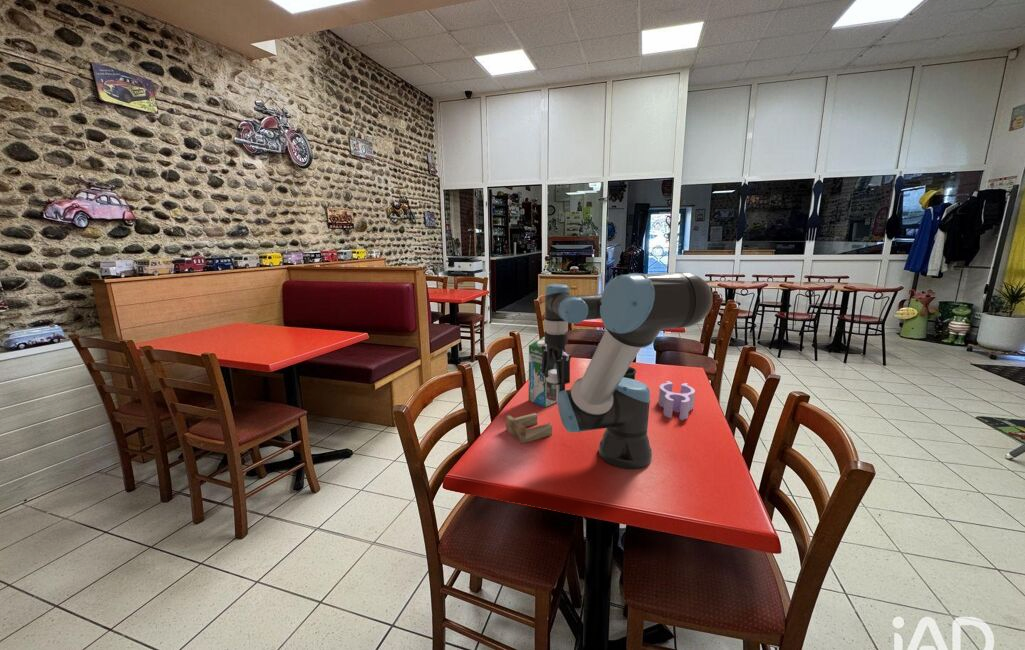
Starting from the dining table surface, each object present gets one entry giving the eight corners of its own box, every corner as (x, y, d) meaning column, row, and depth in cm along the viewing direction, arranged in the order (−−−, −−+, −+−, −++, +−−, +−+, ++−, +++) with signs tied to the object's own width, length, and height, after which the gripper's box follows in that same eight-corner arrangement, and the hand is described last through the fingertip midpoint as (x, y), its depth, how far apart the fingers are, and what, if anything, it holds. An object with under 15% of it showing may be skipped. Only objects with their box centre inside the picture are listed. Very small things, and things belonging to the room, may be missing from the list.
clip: (694, 422, 141) (696, 403, 140) (657, 416, 146) (658, 398, 144) (692, 400, 159) (694, 384, 158) (658, 396, 164) (660, 380, 162)
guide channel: (552, 434, 132) (552, 420, 131) (521, 443, 127) (521, 429, 126) (535, 422, 141) (535, 408, 140) (506, 429, 136) (505, 416, 135)
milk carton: (528, 400, 160) (528, 339, 154) (544, 394, 165) (545, 335, 160) (544, 407, 153) (545, 344, 147) (560, 401, 159) (562, 339, 153)
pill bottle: (545, 395, 140) (545, 368, 137) (561, 395, 140) (561, 368, 138) (547, 402, 134) (548, 374, 132) (564, 402, 134) (565, 374, 132)
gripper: (583, 336, 125) (580, 406, 131) (549, 324, 141) (548, 386, 147) (563, 340, 122) (561, 411, 127) (531, 327, 138) (530, 390, 143)
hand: (554, 398), depth 137 cm, fingers closed on pill bottle, 6 cm apart
